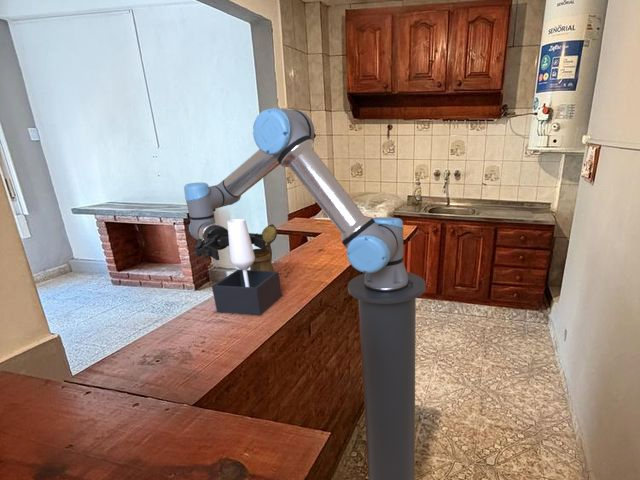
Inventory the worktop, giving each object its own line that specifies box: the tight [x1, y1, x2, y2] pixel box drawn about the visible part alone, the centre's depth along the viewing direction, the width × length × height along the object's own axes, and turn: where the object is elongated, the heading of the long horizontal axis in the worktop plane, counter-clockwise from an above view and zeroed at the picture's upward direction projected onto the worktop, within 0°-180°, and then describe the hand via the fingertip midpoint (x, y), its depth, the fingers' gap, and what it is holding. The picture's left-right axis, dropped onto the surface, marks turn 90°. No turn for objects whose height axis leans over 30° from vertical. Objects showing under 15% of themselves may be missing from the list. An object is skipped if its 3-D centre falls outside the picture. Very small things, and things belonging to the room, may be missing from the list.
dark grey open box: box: [211, 269, 282, 316], centre depth 117 cm, size 14×14×8 cm
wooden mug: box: [249, 223, 278, 271], centre depth 133 cm, size 9×14×18 cm, turn 159°
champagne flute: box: [226, 218, 255, 287], centre depth 113 cm, size 7×7×24 cm
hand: (241, 250), depth 112 cm, fingers open, 13 cm apart
